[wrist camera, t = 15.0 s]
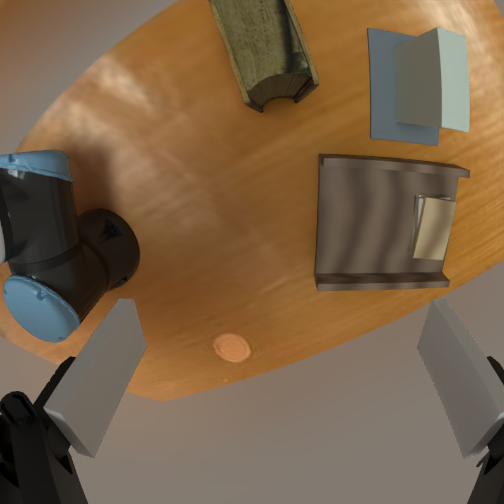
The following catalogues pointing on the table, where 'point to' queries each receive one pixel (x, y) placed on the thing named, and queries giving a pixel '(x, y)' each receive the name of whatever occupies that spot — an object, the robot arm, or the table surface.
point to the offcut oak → (433, 228)
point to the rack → (375, 221)
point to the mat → (390, 92)
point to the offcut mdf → (418, 209)
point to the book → (265, 50)
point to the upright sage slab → (433, 81)
